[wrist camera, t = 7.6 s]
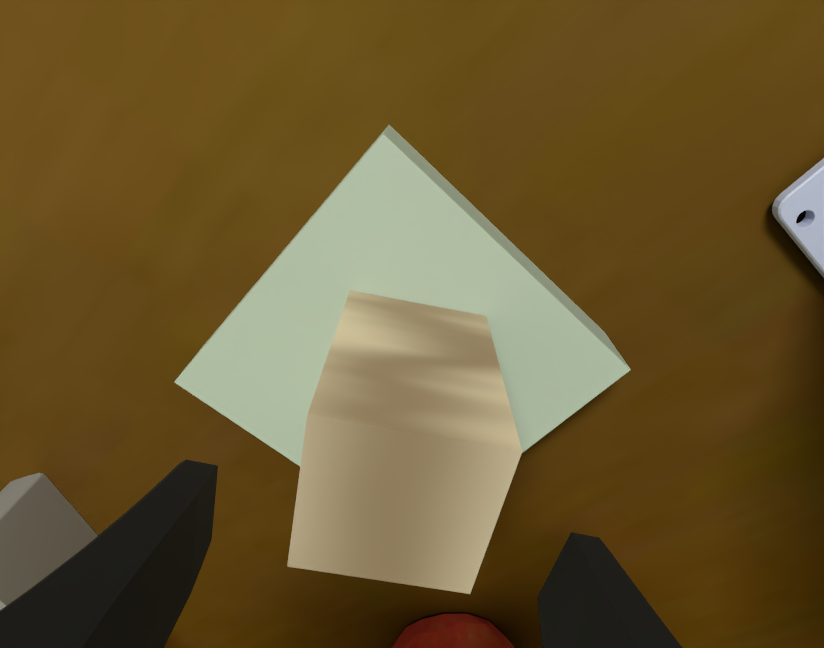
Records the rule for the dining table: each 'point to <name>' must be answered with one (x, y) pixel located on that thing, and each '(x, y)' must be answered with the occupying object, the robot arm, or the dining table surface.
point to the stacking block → (405, 280)
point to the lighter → (36, 534)
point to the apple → (452, 633)
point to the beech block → (405, 447)
